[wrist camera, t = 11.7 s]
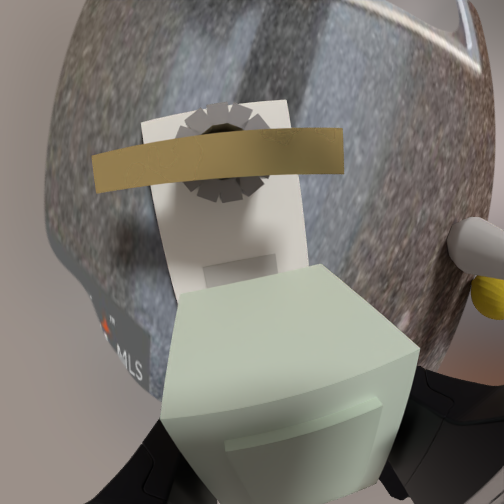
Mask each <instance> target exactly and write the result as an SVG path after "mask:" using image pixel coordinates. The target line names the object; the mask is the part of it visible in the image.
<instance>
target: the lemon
mask: <svg viewBox="0 0 504 504" xmlns="http://www.w3.org/2000/svg"><path fill="white" fill-rule="evenodd" d="M471 285H472V287H471V298H472V302H473V304H474V306H475V308H476V309H477V310H478V311H479V312H480V313H481V314H482V315H484V316H486V317H488V318H491V319H495V320H503V319H504V280H501V279H496V278H490V277H485V276H479V275H477V276H476V277H475V279H474V280H472V282H471Z"/></svg>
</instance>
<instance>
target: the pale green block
mask: <svg viewBox="0 0 504 504" xmlns="http://www.w3.org/2000/svg"><path fill="white" fill-rule="evenodd" d="M419 352H420V348H419V347H418V346H417V345H416V344H415V343H414V342H412V341H411V340H410V339H409V338H408V337H407V336H406V335H405V334H403V333H402V332H401V331H400V330H399V329H398V328H397V327H395V326H394V325H393V324H392V323H391V322H390V321H389V320H387V319H386V318H385V317H384V316H383V315H382V314H380V313H379V312H378V311H377V310H376V309H375V308H373V307H372V306H371V305H370V304H369V303H368V302H366V301H365V300H364V299H363V298H362V297H360V296H359V295H358V294H357V293H356V292H355V291H353V290H352V289H351V288H350V287H349V286H347V285H346V284H345V283H344V282H343V281H341V280H340V279H339V278H338V277H337V276H335V275H334V274H333V273H332V272H330V271H329V270H328V269H327V268H326V267H324V266H323V265H322V264H318V265H314V266H309V267H305V268H300V269H296V270H292V271H287V272H283V273H278V274H274V275H269V276H264V277H260V278H255V279H251V280H246V281H241V282H236V283H232V284H227V285H222V286H217V287H212V288H207V289H202V290H197V291H192V292H187V293H182V294H180V299H179V304H178V309H177V314H176V319H175V324H174V330H173V335H172V341H171V347H170V353H169V359H168V365H167V371H166V378H165V385H164V391H163V399H162V406H161V414H160V420H161V422H162V424H163V425H164V427H165V429H166V430H167V432H168V433H169V435H170V436H171V438H172V440H173V441H174V443H175V444H176V446H177V447H178V449H179V450H180V452H181V453H182V454H183V456H184V457H185V459H186V460H187V462H188V463H189V464H190V466H191V467H192V468H193V470H194V471H195V473H196V474H197V475H198V477H199V478H200V479H201V480H202V482H203V483H204V484H205V486H206V487H207V488H208V489H209V491H210V492H211V493H212V494H213V495H214V497H215V498H216V499H217V500H218V501H219V503H220V504H324V503H328V502H330V501H334V500H336V499H339V498H342V497H345V496H347V495H350V494H353V493H355V492H358V491H360V490H362V489H365V488H367V487H370V486H371V485H374V484H376V483H377V481H378V479H379V477H380V474H381V472H382V470H383V468H384V465H385V463H386V461H387V458H388V456H389V453H390V451H391V448H392V446H393V443H394V440H395V438H396V435H397V432H398V429H399V426H400V423H401V420H402V417H403V414H404V411H405V408H406V404H407V401H408V397H409V394H410V390H411V386H412V383H413V379H414V375H415V370H416V366H417V361H418V357H419Z"/></svg>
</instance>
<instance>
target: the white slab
mask: <svg viewBox="0 0 504 504" xmlns="http://www.w3.org/2000/svg"><path fill="white" fill-rule="evenodd" d="M141 126H142V134H143V141H144V144H146V143H152V142H157V141H163V140H169V139H175V138H182V137H189V136H196V135H204V134H212V133H221V132H232V131H243V130H258V129H277V128H291V124H290V118H289V112H288V107H287V101H286V100H276V101H263V102H253V103H244V104H236V103H233V105H228V103H227V102H223V103H216V104H210V105H207V109H202V108H199V109H198V110H196V111H191V112H186V113H181V114H176V115H171V116H167V117H162V118H158V119H154V120H150V121H146V122H142V123H141ZM151 191H152V196H153V201H154V206H155V211H156V216H157V221H158V226H159V230H160V235H161V239H162V244H163V248H164V252H165V256H166V261H167V265H168V269H169V273H170V277H171V280H172V284H173V288H174V292H175V295H176V299H177V303H178V304H179V299H180V294H182V293H187V292H192V291H197V290H202V289H207V288H212V287H217V286H222V285H227V284H232V283H236V282H241V281H246V280H251V279H255V278H260V277H264V276H269V275H274V274H278V273H283V272H287V271H292V270H296V269H300V268H305V267H309V263H308V252H307V242H306V233H305V224H304V215H303V207H302V199H301V191H300V184H299V176H298V174H294V175H265V176H246V177H231V178H217V179H205V180H194V181H184V182H175V183H166V184H157V185H151Z"/></svg>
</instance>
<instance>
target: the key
mask: <svg viewBox="0 0 504 504" xmlns="http://www.w3.org/2000/svg"><path fill="white" fill-rule="evenodd" d="M92 164H93V172H94V180H95V187H96V193H102V192H108V191H114V190H121V189H128V188H135V187H142V186H149V185H157V184H166V183H175V182H184V181H194V180H205V179H217V178H231V177H246V176H265V175H294V174H344V152H343V128H277V129H258V130H243V131H232V132H221V133H212V134H204V135H196V136H189V137H182V138H175V139H169V140H163V141H157V142H152V143H146V144H141V145H136V146H131V147H127V148H122V149H118V150H113V151H109V152H105V153H101V154H97V155H93V156H92Z"/></svg>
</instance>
